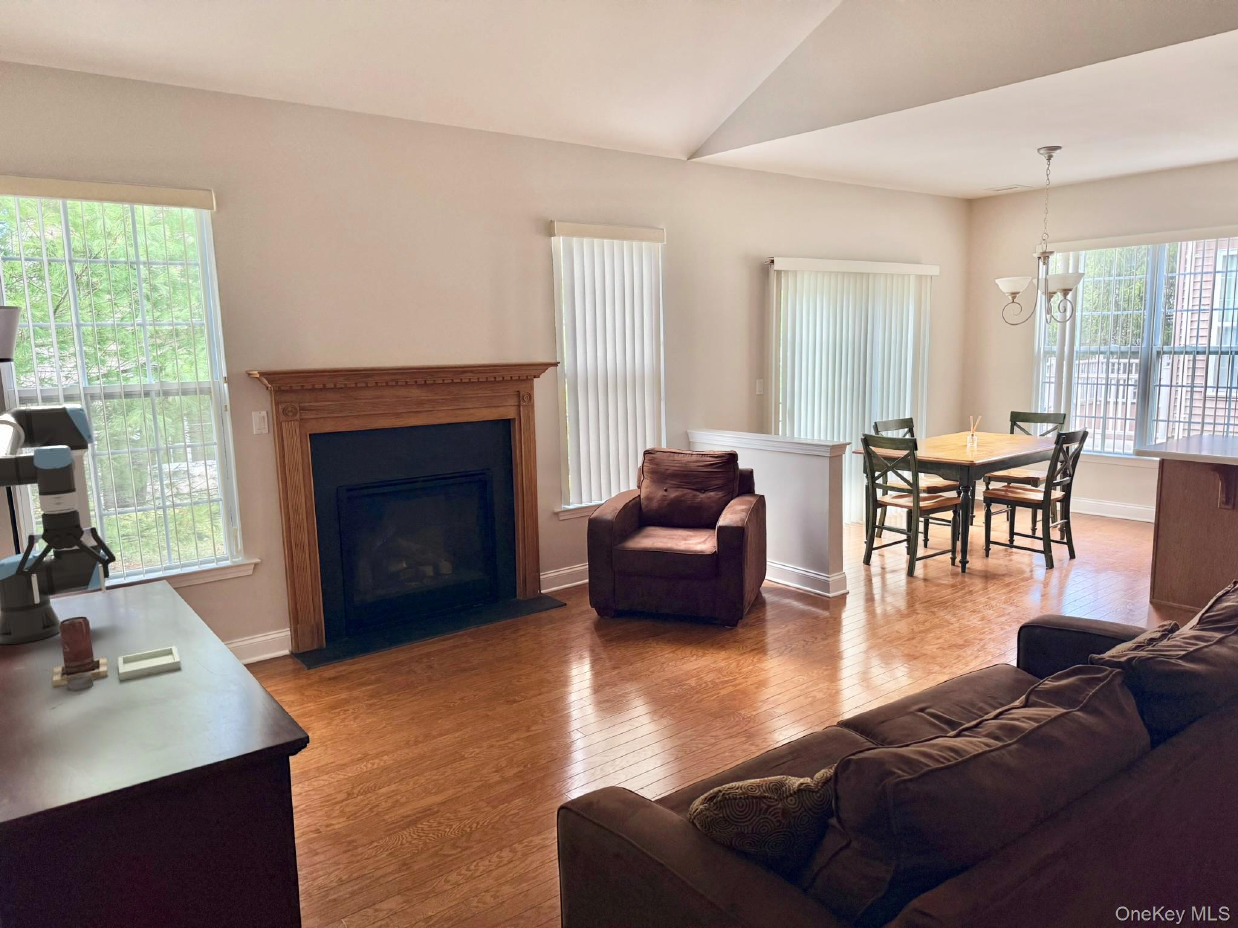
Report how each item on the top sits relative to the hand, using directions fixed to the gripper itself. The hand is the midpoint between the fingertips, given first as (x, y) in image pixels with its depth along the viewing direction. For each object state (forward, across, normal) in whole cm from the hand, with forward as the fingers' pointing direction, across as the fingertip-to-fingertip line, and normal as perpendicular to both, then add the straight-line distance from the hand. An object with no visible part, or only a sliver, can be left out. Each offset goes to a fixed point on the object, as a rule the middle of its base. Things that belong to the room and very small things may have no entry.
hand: (71, 596), depth 203 cm
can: (+20, 0, 0) cm, 20 cm away
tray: (+20, +14, -4) cm, 25 cm away
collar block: (+20, 0, -3) cm, 20 cm away
